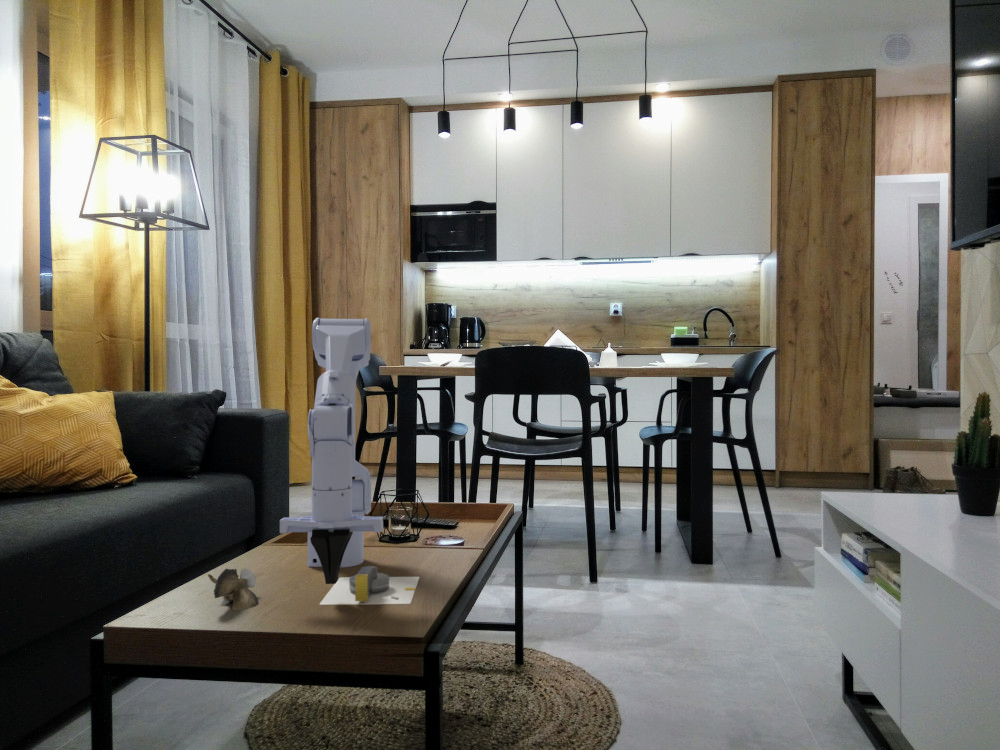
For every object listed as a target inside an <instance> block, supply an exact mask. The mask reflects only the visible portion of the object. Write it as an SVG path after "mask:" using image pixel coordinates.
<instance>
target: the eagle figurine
mask: <svg viewBox="0 0 1000 750" xmlns="http://www.w3.org/2000/svg"><path fill="white" fill-rule="evenodd" d="M207 576H208V578H209V580H210V581H211V582H212V583H213V584H215V585H214V586H215V587H214V589H213V595H214V599H218V598H220V597H222V599H221V601H220V603H219V604H218V607H222V606H227V605H228V604H230V603H231V602H232V606H231V607H232V608H231V610H233V611H244V610H248V609H252V608H255V607H257V606H258V605H260V604H259V599H258V596H257V595H256V593H254V592H253V591H252V590H251V589H250V588H255V586H256V584H257V581H256V578H257V577H256V575H255V573H254V571H253V570H251V569H248V568H242V569H241V570H240V573H239V575H238V570H237V568H232V569H230V568H224V570H222V572H221V573H220V574H219V575H218V576H217V578H216V577H214V576H213V575H212V574H210V573H208V574H207Z"/></svg>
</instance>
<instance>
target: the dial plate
mask: <svg viewBox="0 0 1000 750" xmlns="http://www.w3.org/2000/svg"><path fill="white" fill-rule="evenodd" d="M350 577H351V576H348V577H347V576H345V577H344V576H341V577H338V581H337V582H336V584H332V585H333V586H331V588H330V589H329V591H328V592H327V593H326V595H324V597H323V599H322V600H321V601H320V602H319V604H318V605H319V606H331V605H332V606H335V605H336V606H339V605H340V606H341V605H345V606H346V605H347V606H348V605H353V606H354V605H411V603H412V600H413V597H414V595H415V592H416V589H417V587H418V583H419V580H420V576H389V588H388V589H387V590H385V591H382V592H378V593H371V594H370V596H369V598H368V600H367V601H355V592H352V591H350V590H349V579H350Z"/></svg>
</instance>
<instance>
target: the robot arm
mask: <svg viewBox="0 0 1000 750" xmlns="http://www.w3.org/2000/svg"><path fill="white" fill-rule="evenodd" d="M371 324H372V323H371V320H370V319H369V318H367V317H366V318H320V317H316V318H315V319H314V320H313V321H312V329H311V341H312V344H311V345H312V350H313V352H314V357H315V360H316V361H317V365H318V366H319V367H321V368H324V369H325V372H323V373H322V374H321V375H319V377H318V378H317V382H316V390H315V397H314V406H313V409H311V408H310V409H309V411H308V414H307V415H308V416H307V437H308V441H309V442H308V443H309V457H311V515H309V516H308V515H307V516H305V515H304V516H291V517H290V516H289V517H286V516H285V517H284V516H283V518H281V519H280V520H279V534H287V533H288V534H289V533H307V567H308V568H310V567H311V568H317V567H318V568H319V567H321V568H322V571H323V576H324V581H325V585H334V584H336V582H337V581H338V579H339V575H340V574H339V573H340V569H341V568H348V567H349V568H350V567H355V566H358V565H362V564H363V563H364V560H365V559H364V557H365V556H364V555H365V554H364V553H365V552H364V551H365V549H364V543H365V542H364V541H365V540H364V539H365V538H364V537H365V535H364V532H373V533H382V532H383V530H384V517H383V516H370V515H369V516H368V514H369V513H370V512H371V511H372V481H371V472H370V471H369V469H368V468H367V467H366V466H364V465H363V464H361V463H360V462H359V461H357V460H356V432H357V431H356V427H357V426H356V422H357V421H356V420H357V417H356V413H357V412H356V406H357V405H356V401H357V400H356V399H357V396H356V395H357V394H356V392H357V391H356V388H357V385H356V384H357V379H358V375H359V372H360V370H362V369H363V368H366V367H367V366H369V365H370V363H369V361H371V350H372V348H371V346H372V336H371V335H372V332H371V330H372V325H371ZM353 477H355V478H357V479H353ZM358 478H359V479H358ZM365 515H366V516H365ZM315 561H316V562H315Z"/></svg>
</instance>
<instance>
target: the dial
mask: <svg viewBox="0 0 1000 750" xmlns="http://www.w3.org/2000/svg"><path fill="white" fill-rule="evenodd" d="M349 577H350V579H349V590H350V591H352V592H355V601H367V600H368V598H369V596H370V594H371V593H378V592H382V591H385V590H387V589H388V588H389V577H390V575H389V574H387V573H384V572H383V573H382V572H378V567H377V566H375V565H365V566H361V568H360V569H359V571H358V572H357V573H356V574H354V575H352V576H349Z"/></svg>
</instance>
